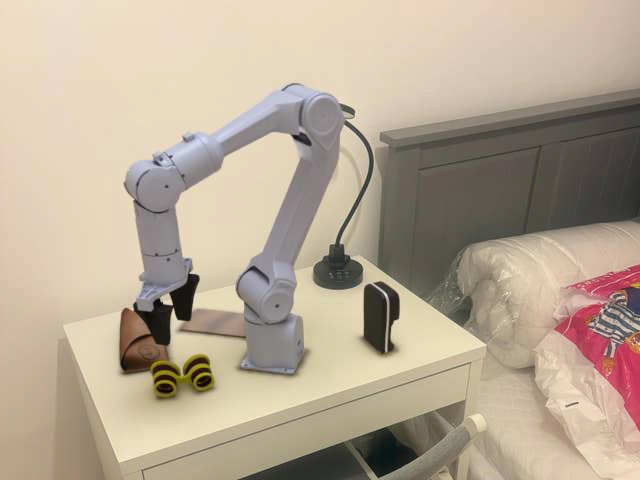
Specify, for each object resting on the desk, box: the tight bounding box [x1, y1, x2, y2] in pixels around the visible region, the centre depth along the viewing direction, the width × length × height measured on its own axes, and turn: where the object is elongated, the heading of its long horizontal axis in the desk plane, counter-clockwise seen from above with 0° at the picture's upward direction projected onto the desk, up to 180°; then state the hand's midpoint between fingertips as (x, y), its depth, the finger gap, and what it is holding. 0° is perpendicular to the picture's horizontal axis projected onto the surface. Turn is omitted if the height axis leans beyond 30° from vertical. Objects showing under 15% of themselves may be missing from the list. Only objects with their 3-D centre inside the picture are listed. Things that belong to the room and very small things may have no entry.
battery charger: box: [362, 280, 401, 354], centre depth 113 cm, size 7×4×11 cm, turn 28°
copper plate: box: [179, 308, 246, 339], centre depth 124 cm, size 13×8×1 cm, turn 76°
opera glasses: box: [149, 353, 215, 398], centre depth 106 cm, size 10×5×5 cm, turn 107°
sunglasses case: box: [118, 307, 170, 374], centre depth 117 cm, size 18×7×7 cm
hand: (173, 331), depth 101 cm, fingers open, 7 cm apart
